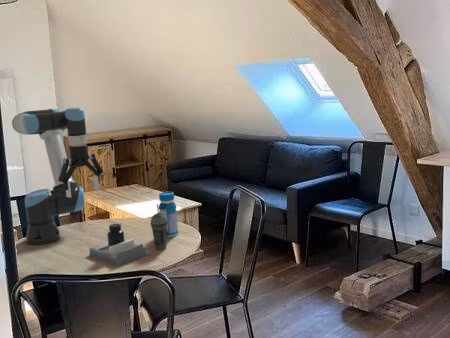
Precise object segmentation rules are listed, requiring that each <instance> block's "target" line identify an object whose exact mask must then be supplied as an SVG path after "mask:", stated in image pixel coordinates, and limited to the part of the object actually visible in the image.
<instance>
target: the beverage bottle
mask: <svg viewBox="0 0 450 338" xmlns="http://www.w3.org/2000/svg"><path fill="white" fill-rule="evenodd" d="M158 197H159V202H160V203H159V204H158V208H159V213H161V214H163V215H164V216H165V217H166V219H167V238H171V237H176V236H177V235H179V227H178V224H179V223H178V211H177V205H176V203H175V201H174V200H175V194H174V191H163V192H162V191H161V192H159V196H158Z"/></svg>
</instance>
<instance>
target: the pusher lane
mask: <svg viewBox="0 0 450 338" xmlns="http://www.w3.org/2000/svg"><path fill="white" fill-rule="evenodd" d="M146 249H147V248H145V247H144V244H142V243H139V244H136V243H134V247H131V248H128V249H125V250H122V251H120V252H117V257H115V256H113V255H110V253H109V248H108V244H107V245H104V246H101V247H97V248H95V247H90V248H89V256H91V257H93V258H96V259H98V260H100V261H103V262H105V263H107V264H110V265H113V266H115V267H118V266H120V265H123V264H126V263H129V262H131V261H134V260H137V259H139V258H142V257H144V256H147V251H146Z"/></svg>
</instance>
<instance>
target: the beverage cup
mask: <svg viewBox="0 0 450 338" xmlns="http://www.w3.org/2000/svg"><path fill="white" fill-rule="evenodd" d="M156 208H157V213H155V214H154V215H152V216H151V219H150V226H151V230H152V235H153V241H154V246H155V250H156V251H164V250H166V249H167V238H168V237H167V219H166V217H165V216H164V215H163V214H161V213H159V211H160V210H159V203H158V204H156Z"/></svg>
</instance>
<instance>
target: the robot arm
mask: <svg viewBox="0 0 450 338" xmlns="http://www.w3.org/2000/svg"><path fill="white" fill-rule="evenodd" d="M85 117H86V115H85V111H84V108H83V107H68V108H66V109H65V110H59V109H57V108H53V109H52V108H48V109H38V110H28V111H27V110H26V111H23V112H20V113H17V114H15V116H14V117H13V119H12V121H11V125H12V128H13V130H14V132H17V133H18V134H20V135H26V136H27V135H29V136H31V135H39V139H41V140H42V141H44V146H45V150H46V154H47V158H48V162H49V166H50V171H51V174H52V177H53V182H54V185H53V186H52V190H51V189H49V188H42V189H37V190H34V191H31V192H29V193H27V194H26V196H25V197H24V208H25V212H26V213H25V214H26V220H27V230H26V233H25V234H26V236H25V241H26V244H28V245H31V246H32V245H33V246H34V245H35V246H36V245H38V246H39V245H46V244H50V243H53V242H56V241H58V240H59V239H60V238H61V234H60V230H59V228H58V226H57V224H56V222H55V216H60V215H65V214H69V213H75V212H79V211H82V209H83V208H84V205H85V192H84V188H83V186H80V185H79V186H78V182H77V181H75V180H74V179H73V176H72V175H73V174H74V172H75V170H76V169H77V168H81V167H87V168H88V170H90V172H92V173H93V175H92V178H93V187H94V190H96V191H100V182H101V180H100V179H101V177H100V176H101V175H102V174H103V173H104V170H103V169H102V167H101V165H100V163H99V162H98V160H97V158H96V154H95V153H89V148H88V146H89V145H87V144H88V137H87V127H86V118H85ZM66 130H67V140H68V145H69V147H68V148H69V150H68V151H69V155H70V158H68V156H67V151H66V149H65V144H64V141H63V136H64V134H65V131H66ZM89 160H90V161H91V163H92V164H93V165H92V164H91V163H90V162H89Z"/></svg>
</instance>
